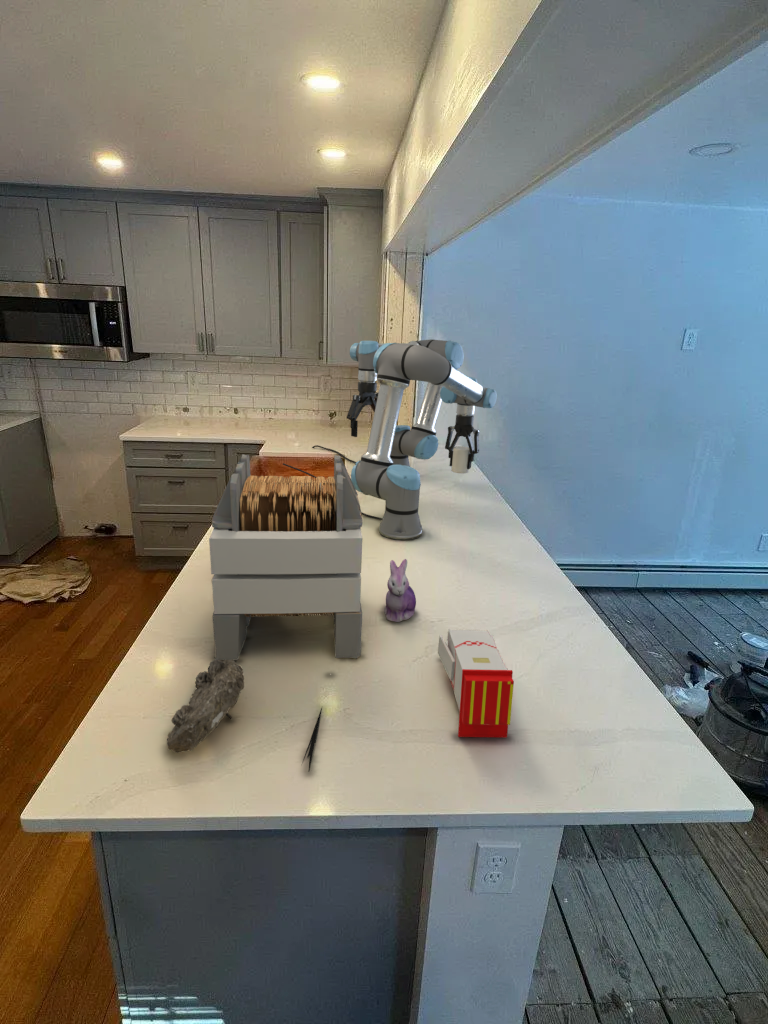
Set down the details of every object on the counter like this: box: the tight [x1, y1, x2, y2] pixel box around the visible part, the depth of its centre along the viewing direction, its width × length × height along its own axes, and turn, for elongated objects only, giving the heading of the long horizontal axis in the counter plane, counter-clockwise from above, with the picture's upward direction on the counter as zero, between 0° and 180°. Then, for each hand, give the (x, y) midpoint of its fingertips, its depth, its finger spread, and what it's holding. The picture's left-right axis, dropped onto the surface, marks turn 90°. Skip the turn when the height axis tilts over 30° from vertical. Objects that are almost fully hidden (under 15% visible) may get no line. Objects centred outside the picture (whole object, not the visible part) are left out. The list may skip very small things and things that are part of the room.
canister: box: [451, 445, 470, 474], centre depth 246 cm, size 7×7×10 cm
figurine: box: [384, 558, 417, 623], centre depth 145 cm, size 9×10×15 cm
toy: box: [437, 628, 515, 738], centre depth 117 cm, size 12×13×30 cm
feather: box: [301, 673, 332, 771], centre depth 108 cm, size 2×28×2 cm
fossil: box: [166, 659, 245, 754], centre depth 106 cm, size 22×10×15 cm
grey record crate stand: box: [208, 453, 364, 661], centre depth 135 cm, size 34×33×41 cm
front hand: (460, 466), depth 247 cm, fingers closed on canister, 7 cm apart
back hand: (365, 434), depth 232 cm, fingers open, 13 cm apart
